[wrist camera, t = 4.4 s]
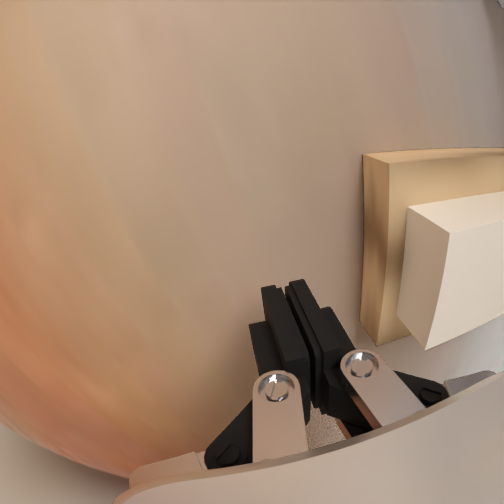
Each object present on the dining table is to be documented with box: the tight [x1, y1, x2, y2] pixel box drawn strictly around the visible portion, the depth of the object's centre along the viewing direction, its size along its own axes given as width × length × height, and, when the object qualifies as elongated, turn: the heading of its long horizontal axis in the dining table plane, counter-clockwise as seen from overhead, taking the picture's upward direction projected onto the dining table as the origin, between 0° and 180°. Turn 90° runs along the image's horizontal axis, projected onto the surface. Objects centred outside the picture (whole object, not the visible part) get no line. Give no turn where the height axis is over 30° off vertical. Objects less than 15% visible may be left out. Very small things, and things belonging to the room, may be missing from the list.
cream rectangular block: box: [396, 191, 504, 350], centre depth 13 cm, size 6×10×3 cm, turn 98°
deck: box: [360, 148, 504, 346], centre depth 16 cm, size 10×18×2 cm, turn 98°
